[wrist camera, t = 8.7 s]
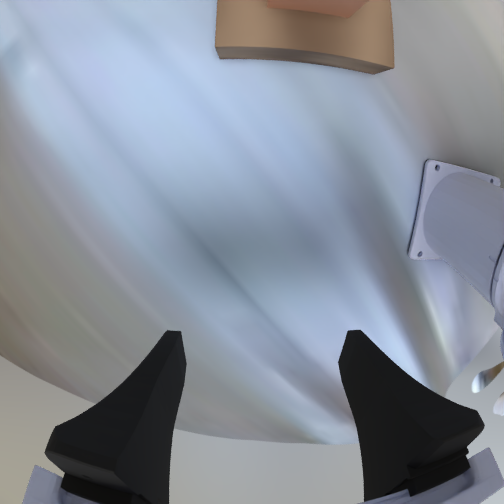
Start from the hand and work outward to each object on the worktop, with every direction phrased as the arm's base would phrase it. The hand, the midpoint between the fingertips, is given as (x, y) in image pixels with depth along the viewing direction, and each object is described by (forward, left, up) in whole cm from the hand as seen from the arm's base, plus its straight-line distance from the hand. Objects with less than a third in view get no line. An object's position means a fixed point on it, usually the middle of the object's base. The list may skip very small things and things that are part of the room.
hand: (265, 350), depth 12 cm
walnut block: (-2, -18, -10) cm, 21 cm away
